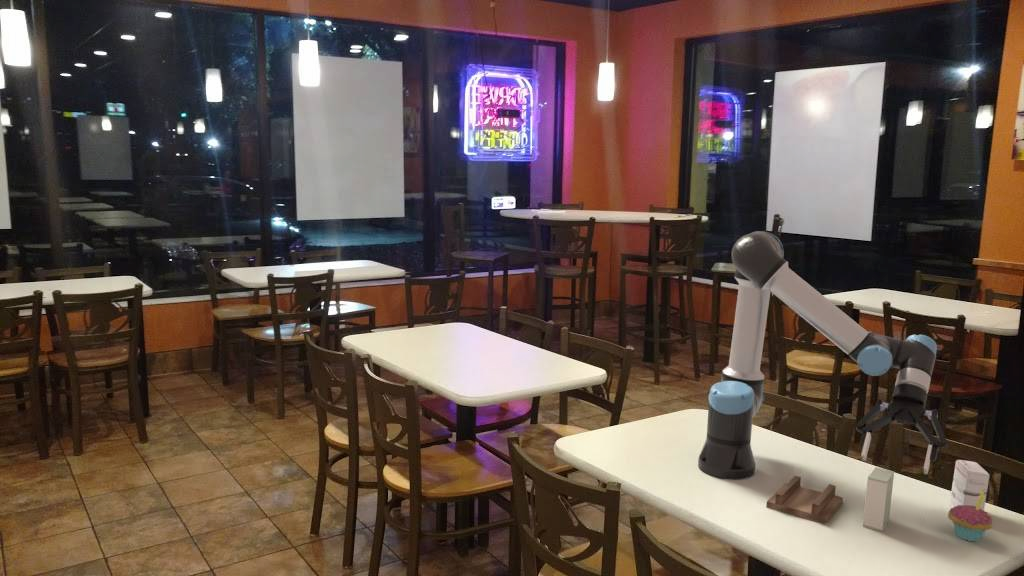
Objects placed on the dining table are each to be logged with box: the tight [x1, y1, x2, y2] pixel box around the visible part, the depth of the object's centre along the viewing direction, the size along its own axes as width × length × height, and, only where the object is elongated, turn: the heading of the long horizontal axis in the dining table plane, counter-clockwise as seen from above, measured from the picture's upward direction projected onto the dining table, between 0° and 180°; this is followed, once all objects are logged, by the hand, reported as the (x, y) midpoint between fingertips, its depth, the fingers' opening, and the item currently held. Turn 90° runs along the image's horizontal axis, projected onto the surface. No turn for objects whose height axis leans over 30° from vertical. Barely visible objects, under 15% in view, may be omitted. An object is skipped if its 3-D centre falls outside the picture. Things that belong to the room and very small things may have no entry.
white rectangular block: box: [949, 459, 990, 511], centre depth 185 cm, size 9×5×12 cm, turn 168°
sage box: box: [862, 466, 895, 532], centre depth 178 cm, size 4×8×12 cm, turn 143°
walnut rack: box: [766, 475, 844, 525], centre depth 187 cm, size 14×15×4 cm
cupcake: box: [947, 489, 993, 542], centre depth 172 cm, size 9×8×12 cm
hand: (893, 464), depth 183 cm, fingers open, 13 cm apart
